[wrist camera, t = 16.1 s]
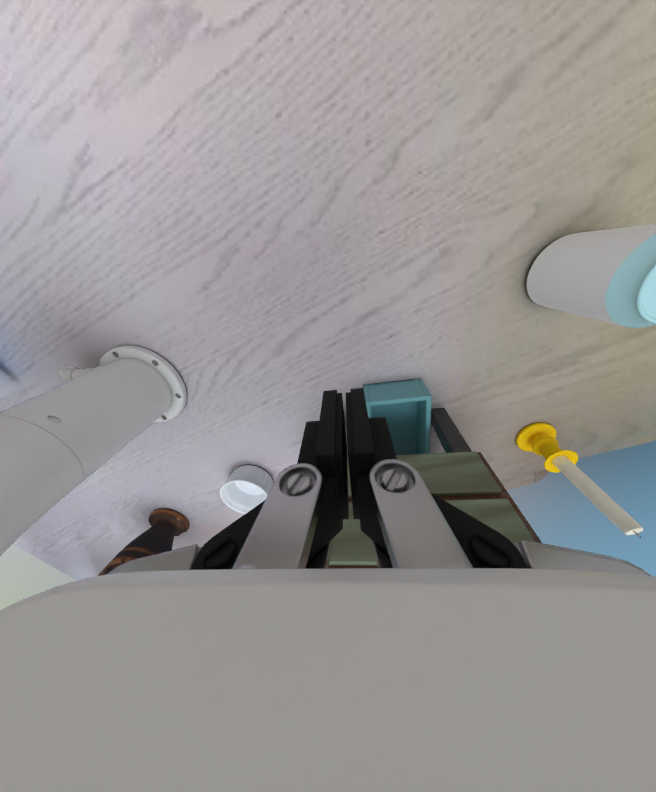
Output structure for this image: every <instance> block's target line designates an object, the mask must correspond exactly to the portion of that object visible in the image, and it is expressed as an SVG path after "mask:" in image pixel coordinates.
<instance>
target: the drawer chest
mask: <svg viewBox="0 0 656 792" xmlns="http://www.w3.org/2000/svg"><path fill="white" fill-rule="evenodd" d="M431 424H432V426H433V428H434V430H435V432H436V434H437V436H438V438H439V440H440V442H441V444H442V446H443V448H444V450H445V452H446V453H434V454H412V455H396V457H397V460H402V461H404V462H406V463H409V464H410V465H412V466H413V467H414V468H415V469H416V470H417V471H418V473H419V474H420V476H421V478H422V479H423V481H424V483H425V485H426V486H427V488H428V490H429V492H431V493H433V494H434V495H436V496H438V497H439V498H441V499H443V500H445V501H446V502H448V503H450V504H451V505H453V506H455V507H457V508H458V509H460V510H462V511H463V512H465V513H467V514H469V515H470V516H472V517H474V518H475V519H477V520H479V521H480V522H482V523H484V524H486V525H487V526H489V527H491V528H492V529H494V530H496V531H498V532H499V533H501V534H502V535H503V536H505V537H506V538H508V539H509V540H510V541H511V542H515V543H519V541H520V539H522V540H527V541H532V542H538V543H542V542H541V541H540V539H539V538H538V536H537V535H536V533H535V532H534V530H533V529H532V528H531V526H530V524H529V523H528V522H527V520H526V519H525V517H524V516H523V515H522V513H521V512H520V510H519V508H518V507H517V505H516V504H515V502H514V501H513V499H512V498H511V497H510V495H509V494H508V492H507V491H506V489H505V488H504V486H503V485H502V483H501V482H500V480H499V479H498V477H497V476H496V475H495V473H494V472H493V470H492V469H491V467H490V466H489V464H488V463H487V461H486V460H485V458H484V457H483V455H482V454H481V453H480V452H472V451H471V449H470V448H469V446H468V444H467V443H466V441H465V440H464V438H463V437H462V435H461V434H460V432H459V430H458V429H457V427H456V426H455V424H454V423H453V421H452V419H451V418H450V416H449V415H448V413H447V412H446V410H445V409H444V408H439V409H431ZM347 470H348V506H349V519H343V529H341V531H340V532H339V533H338V534H337V535H336V536H335V537H334V538H333V539H332V551H331V557H330V563H329V568H328V569H349V568H378V566H377V562H376V558H375V554H374V550H373V546H372V540H371V539H370V538H369V537H368V536H367V535H366V534H364V533H363V532H362V531H361V528H360V519H354V517H353V506H352V496H351V485H350V474H349V463H348V458H347Z"/></svg>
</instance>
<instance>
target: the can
mask: <svg viewBox="0 0 656 792" xmlns="http://www.w3.org/2000/svg"><path fill="white" fill-rule="evenodd" d="M527 292H528V295H529V297H530V298H531V300H532V301H533V302H535V303H536V304H538V305H540V306H543V307H548V308H552V309H556V310H560V311H564V312H568V313H572V314H576V315H580V316H584V317H588V318H592V319H596V320H600V321H605V322H609V323H613V324H617V325H621V326H625V327H631V328H638V327H648V326H653V325H656V224H653V225H644V226H635V227H626V228H617V229H608V230H599V231H590V232H581V233H574V234H569V235H566V236H564V237H562V238H560V239H558V240H556V241H554V242H553V243H551V244H550V245H549V246H548V247H547V248H545V249H544V250H543V251H542V252H541V253H540V255H539V256H538V257H537V258H536V260H535V261H534V263H533V265H532V267H531V269H530V271H529V274H528V278H527Z"/></svg>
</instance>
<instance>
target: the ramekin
mask: <svg viewBox="0 0 656 792" xmlns="http://www.w3.org/2000/svg"><path fill="white" fill-rule="evenodd" d="M272 485H273V480H272V478H271V476H270V475H269V474H268V473H267V472H266V471H265V470H263V469H261V468H259V467H256V466H251V465H245V466H241V467H238V468H237V469H236V470H234V472H233V473H232V474H231V476H230V477H229V478H228V480H227V481H226V483H224V485H223V486H222V487H221V489H220V496H221V499H222V500H223V502H224V503H225V504H226V505H227V506H228V507H229V508H231V509H233V510H235V511H237V512H239V513H243V514H246V513H248V512H249V511H250V510H252V509H253V508H255V507H256V506H257V505H259V504H260V503H262V502H263V501H264V500H266V498H267V496H268V494H269V492H270V490H271V488H272Z"/></svg>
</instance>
